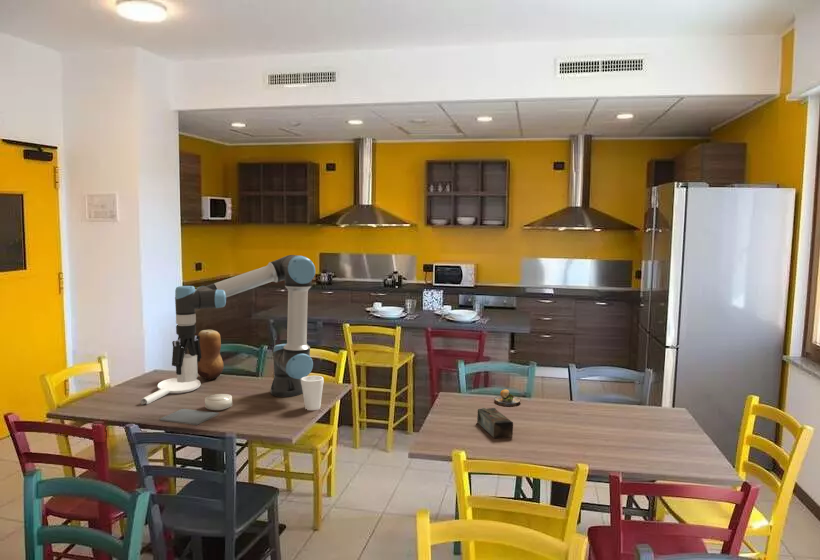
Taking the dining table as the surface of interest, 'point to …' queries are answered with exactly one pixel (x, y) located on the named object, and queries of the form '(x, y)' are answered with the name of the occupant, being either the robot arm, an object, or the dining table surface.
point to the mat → (189, 416)
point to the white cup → (189, 367)
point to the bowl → (218, 401)
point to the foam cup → (312, 391)
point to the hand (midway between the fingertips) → (187, 379)
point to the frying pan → (170, 389)
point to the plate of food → (506, 399)
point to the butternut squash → (210, 354)
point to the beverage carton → (495, 423)
